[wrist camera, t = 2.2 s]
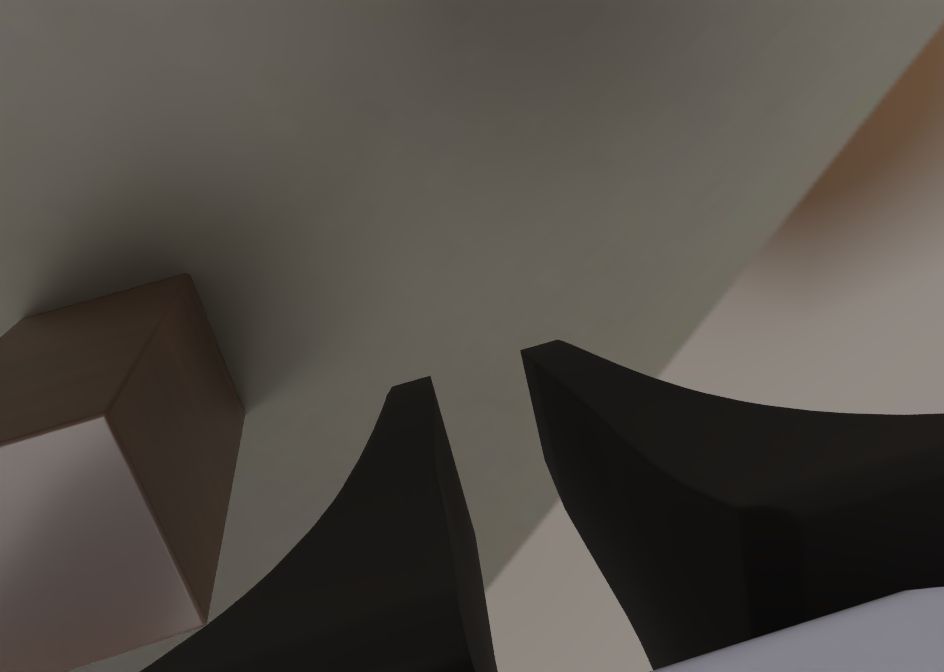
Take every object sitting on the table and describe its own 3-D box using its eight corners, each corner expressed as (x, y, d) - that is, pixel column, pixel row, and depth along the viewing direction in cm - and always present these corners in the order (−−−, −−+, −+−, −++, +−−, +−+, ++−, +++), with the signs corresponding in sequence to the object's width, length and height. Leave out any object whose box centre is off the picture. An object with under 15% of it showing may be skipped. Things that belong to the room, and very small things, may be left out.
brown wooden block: (246, 415, 22) (207, 627, 14) (90, 463, 21) (-48, 711, 13) (189, 272, 20) (106, 411, 12) (19, 319, 20) (-190, 499, 11)
